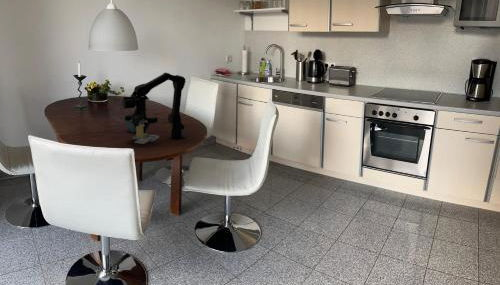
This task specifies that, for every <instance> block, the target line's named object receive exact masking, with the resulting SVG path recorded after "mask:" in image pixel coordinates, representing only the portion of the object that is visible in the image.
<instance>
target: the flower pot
mask: <svg viewBox="0 0 500 285" xmlns="http://www.w3.org/2000/svg"><path fill="white" fill-rule="evenodd" d="M130 121H131V120H130ZM130 121H125V120H124V122H125V125H126V126H125V127H126V128H127V130H128V131H129V132H130V133H136V128H135V126H134V124H133V123H132V122H130ZM139 125H144V121H143V120H140V122H139Z"/></svg>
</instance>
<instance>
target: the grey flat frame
mask: <svg viewBox="0 0 500 285" xmlns="http://www.w3.org/2000/svg"><path fill="white" fill-rule="evenodd" d="M131 138H132V139H133V140H136V141H137V140H139V139H142V140H149V141H148V142H155V141H157V140H158V139H159V138H160V135H157V134H148V133H147V137H145V138H137V137H136V134H135V135H133V136H132V137H131Z"/></svg>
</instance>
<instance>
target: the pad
mask: <svg viewBox="0 0 500 285" xmlns="http://www.w3.org/2000/svg"><path fill="white" fill-rule="evenodd" d="M148 142H150V141H149V140H142V139H139V140H137V139H136V141H134V143H136V144H141V145H142V144H143V145H144V144H147V143H148Z"/></svg>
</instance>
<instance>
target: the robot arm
mask: <svg viewBox="0 0 500 285" xmlns="http://www.w3.org/2000/svg"><path fill="white" fill-rule="evenodd" d="M166 81H171V82H172V88H173V95H172V96H173V97H172V98H173V99H172V108H171V111H170V112H171V113H168V114H167V117H168V118H167V121H168V124H169V125H170V127H171V131H170V132H171V133H170V134H171V135H170V136H171V137H170V138H171V139H175V140H176V139H179V140H181V139H182V138H184V137H185V136H184V129H185V125H184V124H183V123H182V118H181V117H182V116H181V113H180V108H181V100H182V91H183V90H184V88H185V84H186V78H185V77H184V76H181V75H179V74H176V75H173V74H171V73H169V72H163V73H162V74H160V75H158V76H156V77H155V78H153V79H152V80H149V81H148V82H146V83H145V82H144V83H142V84H138V85H136V86H135V87H134V90H133V92H132V93H131V95H130V96H123V97H122V99H121V100H122V101H121V106H122V108H123V109H124V110H125V109H134V113H132V114H127V115H124V122H125V121H130V120H131V121H130V122H132V123H133V124H134V126H135V128H136V126H138V125H139V122H140V120H143V125H145V127H144V132H145V133H146V132H147V133H148V129H149V127H150V125H151V124H155V123H158V120H159V119H158V117H156V116H150V117H148V114H147V111H148V108H147V101H149V100H150V98H149V97H148V96H147V95H148V94H149V93H150V92H151V91H152V90H153V89H155V88H156V87H158V86H160V85H162V84H163V83H165V82H166Z"/></svg>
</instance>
